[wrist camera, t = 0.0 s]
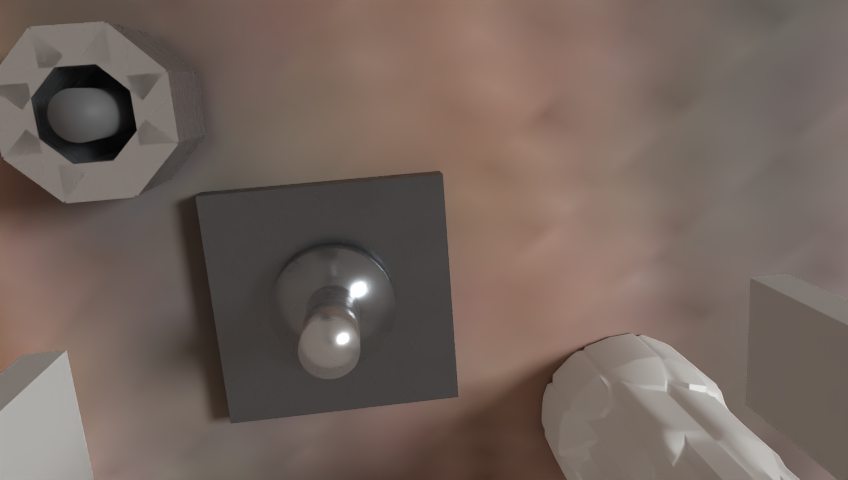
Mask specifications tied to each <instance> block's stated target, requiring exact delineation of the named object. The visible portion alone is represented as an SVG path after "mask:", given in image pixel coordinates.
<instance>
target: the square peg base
mask: <svg viewBox="0 0 848 480" xmlns="http://www.w3.org/2000/svg"><path fill="white" fill-rule="evenodd" d="M195 199H196V205H197V211H198V218H199V224H200V231H201V237H202V243H203V250H204V256H205V262H206V269H207V275H208V282H209V288H210V294H211V301H212V307H213V313H214V320H215V326H216V333H217V339H218V345H219V352H220V358H221V364H222V371H223V377H224V384H225V390H226V396H227V403H228V409H229V415H230V422H231V423H238V422H247V421H255V420H264V419H272V418H281V417H290V416H298V415H307V414H315V413H324V412H332V411H341V410H350V409H358V408H367V407H375V406H384V405H392V404H401V403H410V402H418V401H427V400H435V399H444V398H452V397H458V386H457V371H456V357H455V343H454V329H453V314H452V300H451V286H450V272H449V258H448V243H447V229H446V215H445V201H444V187H443V174H442V173H441V172H440V171H435V172H424V173H412V174H401V175H390V176H379V177H368V178H357V179H345V180H334V181H323V182H312V183H301V184H290V185H278V186H267V187H256V188H245V189H234V190H223V191H211V192H201V193H200V194H198V195H197V196H195Z"/></svg>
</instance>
